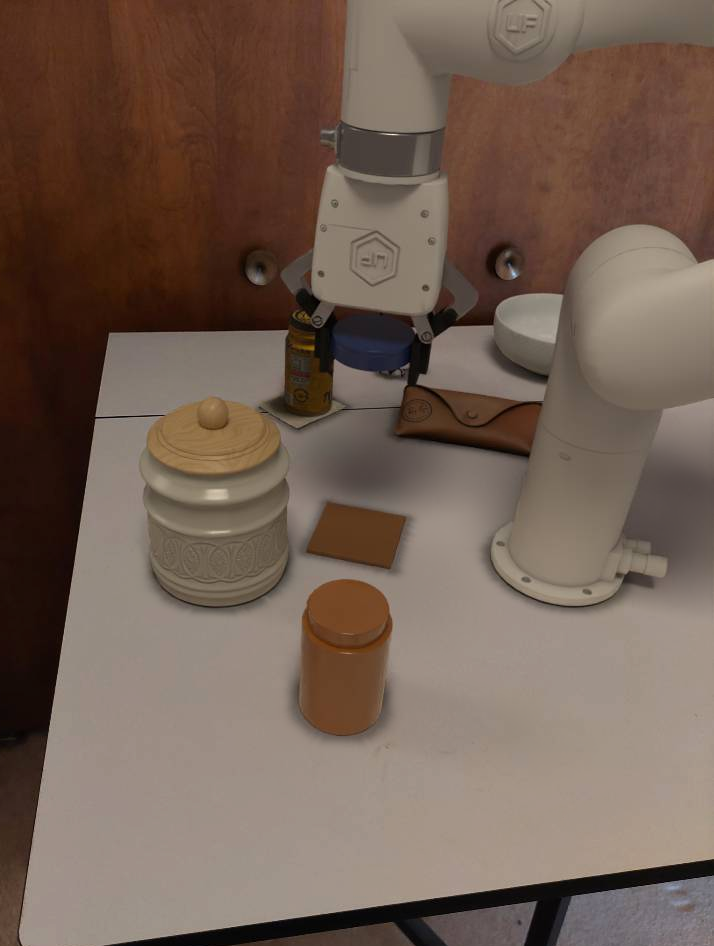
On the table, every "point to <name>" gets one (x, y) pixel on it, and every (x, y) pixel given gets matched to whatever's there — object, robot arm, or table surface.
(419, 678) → the table surface
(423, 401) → the sunglasses case
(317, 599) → the jam jar
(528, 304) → the cereal bowl
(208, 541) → the jar
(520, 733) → the table surface
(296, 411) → the condiment
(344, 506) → the coaster
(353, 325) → the lid
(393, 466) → the table surface
